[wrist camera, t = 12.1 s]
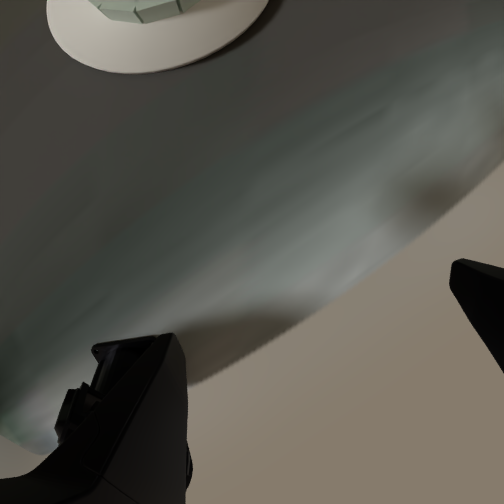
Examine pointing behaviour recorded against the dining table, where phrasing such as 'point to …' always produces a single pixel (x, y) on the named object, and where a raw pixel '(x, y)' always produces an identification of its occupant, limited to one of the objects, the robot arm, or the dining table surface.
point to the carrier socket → (148, 31)
